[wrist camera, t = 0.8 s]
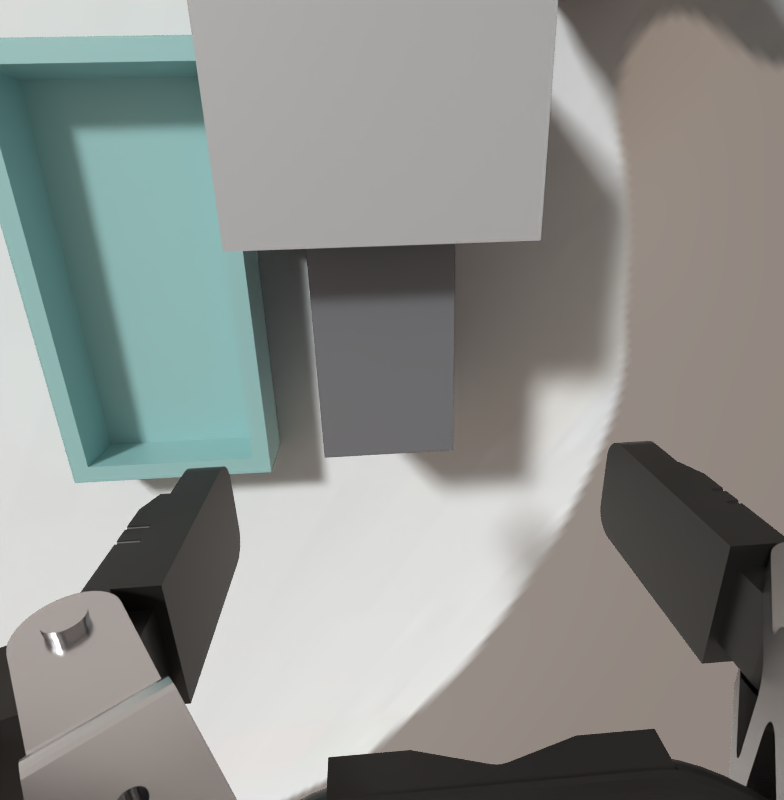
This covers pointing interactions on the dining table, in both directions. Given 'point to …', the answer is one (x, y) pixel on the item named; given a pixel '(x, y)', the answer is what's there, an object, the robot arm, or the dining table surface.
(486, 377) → the dining table surface
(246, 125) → the light grey block
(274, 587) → the dining table surface
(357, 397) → the tall grey pillar
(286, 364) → the dining table surface
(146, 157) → the tray
